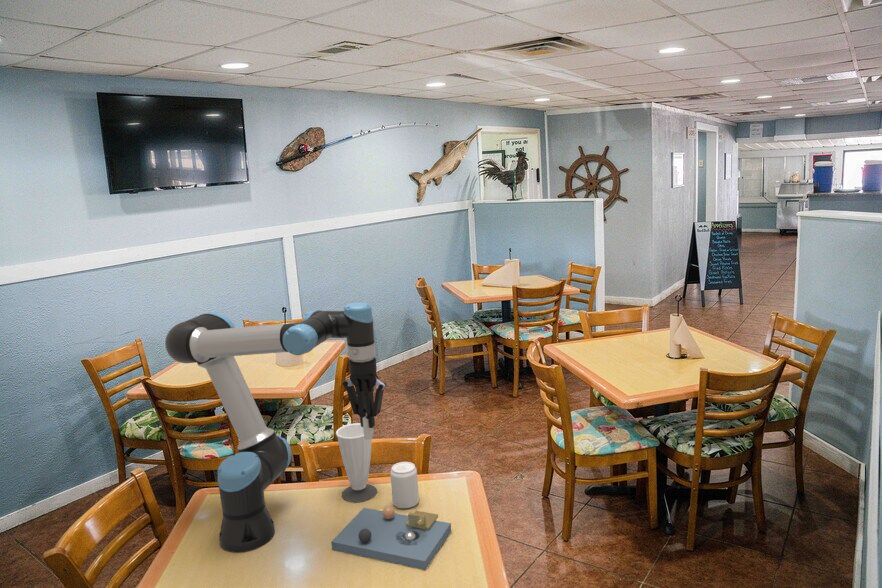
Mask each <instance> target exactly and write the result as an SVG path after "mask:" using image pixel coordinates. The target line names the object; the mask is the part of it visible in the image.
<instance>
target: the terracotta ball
mask: <svg viewBox="0 0 882 588" xmlns="http://www.w3.org/2000/svg"><path fill="white" fill-rule="evenodd" d="M382 511H383V512H382V514H383V517H384V518H385V519H391V518H393V516H394V514H395V513H396V512H395V510H394V508H393V507H392V506H385V507H384V508H383V510H382Z"/></svg>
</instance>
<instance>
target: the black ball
mask: <svg viewBox="0 0 882 588" xmlns="http://www.w3.org/2000/svg"><path fill="white" fill-rule="evenodd" d="M358 537H359V540H360V541H361V542H368V541H369V540H370V539H371V532H370V530H368V529H362V530H361V531H360V532H359V535H358Z"/></svg>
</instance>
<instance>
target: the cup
mask: <svg viewBox="0 0 882 588" xmlns="http://www.w3.org/2000/svg"><path fill="white" fill-rule="evenodd" d="M335 436H336V438H337V443H338V447H339V451H340V454H341V459H342V463H343V466H344V469H345V473H346V476H347V478H348V481H349V485H350V486H348V487H346V488H345V489H344V490H343V491H342V492H341V497H342V499H343V500H344V501H346V502H347V503H348V502H349V503H354V504H355V503H363V502H366V501H369V500H371V499H372V498H373V499H374V498H375V496H376V495H377V493H378V488H377V487H375V485H373V484H370V483H368V479H369V473H370V467H371V458H372V457H371V456H372V439H373V437H372V438H371V439H369V440H366V439H364V430H363V427H361V422H359V423H358V422H355V423H349V424H345V425H343V426H341V427H339V428H338V429H337V430H336V432H335Z"/></svg>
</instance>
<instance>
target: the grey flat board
mask: <svg viewBox="0 0 882 588" xmlns="http://www.w3.org/2000/svg"><path fill="white" fill-rule="evenodd" d="M382 512H383V510H379V509H374V508H369V507H362V509H361V510H359V512H358V513H357V514H355V516H354V517H353V518H352V519H351V520H350V522H348V523H347V525H346V526H345V527H344V528H343V529H342V530H340V532H339V533H338V534H337V535H336V536H335V537H334V538H333V539H332V540H331V551H336V552H340V553H344V554H350V555H354V556H359V557H363V558H369V559H372V560H378V561H380V562H381V561H382V562H387V563H392V564H396V565H401V566H406V567H411V568H415V569H420V570H424V571H426V570H427V569H428V567H429V566H430V564H431V563H432V561H433V560H434V559H435V557H436V555H437V553H438V552H439V550H440V549H441V547H442V546H443V544H444V543H445V541H446V540H447V538H448V537H449V535H450V533H452V523H451V522H446V521H440V520H436V521H435V522H434V524H433V525H432V526H431V528H430V529H429V530H424V529H419V528H413V527H408V526H406V522H407V521H408V514H407V515H406V514H401V513H396V512H395V514H394V516H393V518H391V519H385V518H384V517H383V514H382ZM362 529H368V530H370V532H371V539H370V540H369V541H368V542H361V541H360V540H359V537H358V535H359V532H360V531H361V530H362ZM409 531H411V532H414V533H415V534H416V537H417V539H416V540H415V541H407V540H405V539H404V535H405V534H406V533H407V532H409Z"/></svg>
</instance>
